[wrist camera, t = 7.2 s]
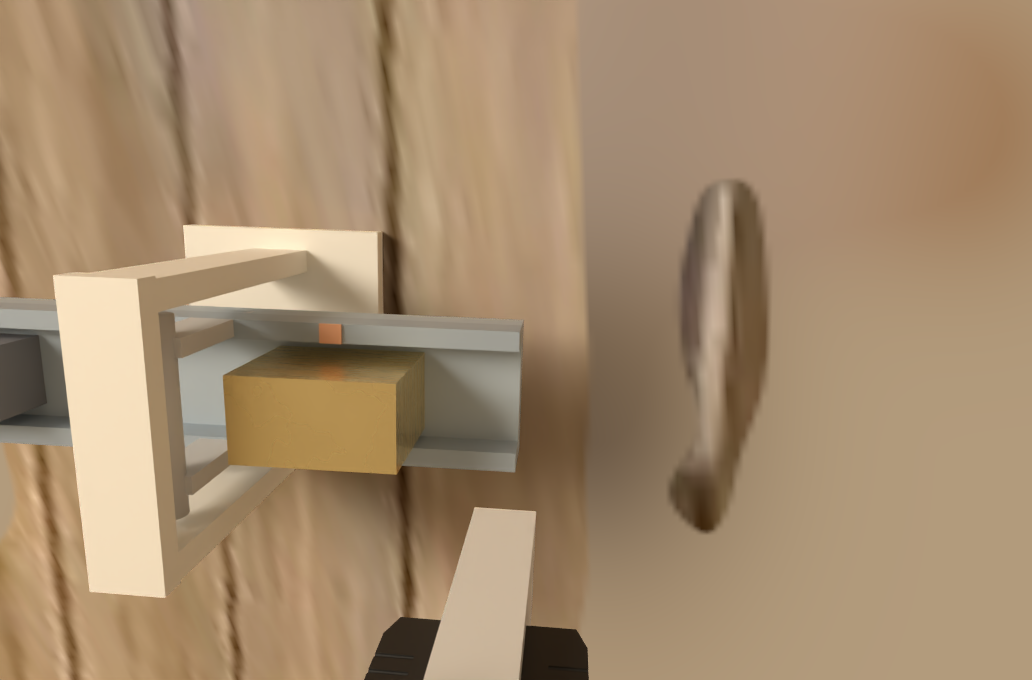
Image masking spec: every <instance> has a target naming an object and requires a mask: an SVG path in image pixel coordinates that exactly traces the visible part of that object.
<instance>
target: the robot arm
mask: <svg viewBox="0 0 1032 680" xmlns="http://www.w3.org/2000/svg"><path fill="white" fill-rule="evenodd" d="M535 529H536V511H523V510H509V509H494V508H480V507H475V508H474V511H473V515H472V518H471V521H470V525H469V528H468V531H467V535H466V538H465V542H464V545H463V548H462V552H461V555H460V558H459V562H458V565H457V568H456V572H455V575H454V578H453V582H452V585H451V588H450V592H449V595H448V599H447V602H446V605H445V609H444V612H443V615H442V619H441V620H430V619H418V618H406V617H400V618H399V619H398V620H397V621H396V622H395V623H394V624H393V625H392V626H391V627H390V628H389V629H388V630H386V631H385V632H384V633H383V636H382V638H381V641H380V643H379V645H378V648H377V650H376V653H375V657H373V660H372V662H371V665H370V667H369V671H368V673H367V674H366V677H365V679H364V680H589V677H588V653H587V651H588V650H587V647H586V645H585V643H584V642H583V640H582V638H581V637H580V635H579V633H578V632H577V630H575V629H562V628H550V627H538V626H530V625H531V614H532V595H533V573H534V551H535Z"/></svg>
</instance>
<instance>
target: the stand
mask: <svg viewBox="0 0 1032 680" xmlns="http://www.w3.org/2000/svg"><path fill="white" fill-rule="evenodd" d="M183 228H184V242H185V256H186V258H184V259H178V260H171V261H164V262H158V263H151V264H144V265H138V266H131V267H125V268H118V269H111V270H105V271H98V272H92V273H82V272H73V273H66V274H59V275H53V280H54V288H55V297H56V305H57V314H58V323H59V331H60V340H61V348H62V357H63V366H64V374H65V383H66V391H67V400H68V409H69V417H70V426H71V434H72V443H73V452H74V460H75V469H76V477H77V486H78V495H79V503H80V512H81V520H82V529H83V537H84V546H85V555H86V563H87V572H88V580H89V589H90V592H100V593H112V594H124V595H137V596H149V597H161V598H166V597H167V596H168V595H169V594H170V593H171V592H172V591H173V590H174V589H175V588H176V587H177V586H178V585H179V584H180V583H181V580H182V579H183V578H184V577H185V576H186V575H187V574H188V573H189V572H190V571H191V570H192V569H193V568H194V567H195V566H196V565H197V564H198V563H199V562H200V561H201V560H202V559H203V558H204V557H205V556H207V555H208V554H209V553H210V552H211V551H212V550H213V549H214V548H215V547H216V546H217V545H218V544H219V543H220V542H221V541H222V540H223V539H224V538H225V537H226V536H227V535H228V534H229V533H230V532H231V531H232V530H233V529H234V528H235V527H236V526H237V525H238V524H239V523H240V522H242V521H243V520H244V519H245V518H246V517H247V516H248V515H249V514H250V513H251V512H252V511H253V510H254V509H255V508H256V507H257V506H258V505H259V504H260V503H261V502H262V501H263V500H264V499H265V498H266V497H267V496H268V495H269V494H270V493H271V492H272V491H273V490H274V489H275V488H277V487H278V486H279V485H280V484H281V483H282V482H283V481H284V480H285V479H286V478H287V477H288V476H289V475H290V474H291V473H292V472H293V471H294V470H295V469H292V468H275V467H258V466H241V465H230V466H229V467H227V468H226V469H225V470H224V471H222V472H221V473H220V474H219V475H217V476H216V477H215V478H214V479H212V480H211V481H210V482H209V483H207V484H206V485H205V486H204V487H202V488H201V489H200V490H199V491H197V492H196V493H195V494H194V495H189V507H190V512H189V514H188V515H186V516H185V517H183V518H181V519H178V520H176V517H175V505H174V493H173V481H172V469H171V457H170V445H169V433H168V421H167V409H166V397H165V386H164V374H163V362H162V350H161V338H160V326H159V314H158V312H161V311H164V310H168V309H172V308H175V307H179V306H183V305H186V304H189V305H192V306H215V307H238V308H261V309H283V310H306V311H329V312H352V313H375V314H383V235H382V232H380V231H353V230H326V229H298V228H271V227H244V226H216V225H183Z"/></svg>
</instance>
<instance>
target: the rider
mask: <svg viewBox="0 0 1032 680" xmlns="http://www.w3.org/2000/svg"><path fill="white" fill-rule="evenodd" d="M223 389H224V405H225V420H226V435H227V451H228V465H241V466H258V467H275V468H292V469H309V470H326V471H344V472H361V473H378V474H395V475H397V473H398V471H399V470H400V468H401V466H402V465H403V463H404V461H405V460H406V458H407V457H408V455H409V453H410V452H411V450H412V448H413V447H414V445H415V443H416V442H417V440H418V438H419V437H420V435H421V433H422V432H423V430H424V429H425V352H409V351H387V350H366V349H344V348H322V347H301V346H279V347H277V348H275V349H273V350H271V351H269V352H267V353H265V354H263V355H261V356H259V357H257V358H255V359H253V360H251V361H249V362H248V363H246V364H244V365H242V366H240V367H238V368H236V369H234V370H232V371H230V372H228V373H226V374H224V375H223Z"/></svg>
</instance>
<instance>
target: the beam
mask: <svg viewBox="0 0 1032 680" xmlns="http://www.w3.org/2000/svg"><path fill="white" fill-rule="evenodd" d="M158 314H159V326H160V338H161V350H162V362H163V374H164V386H165V397H166V409H167V421H168V433H169V445H170V457H171V469H172V481H173V493H174V505H175V517H176V520H178V519H181V518H183V517H185V516H186V515H188V514H189V512H190V507H189V495H194V494H195V493H196V492H197V491H199V490H200V489H201V488H202V487H204V486H205V485H206V484H207V483H209V482H210V481H211V480H212V479H214V478H215V477H216V476H217V475H219V474H220V473H221V472H222V471H224V470H225V469H226V468H227V467H229V466H230V465H228V451H227V435H226V420H225V405H224V389H223V375H224V374H226V373H228V372H230V371H232V370H234V369H236V368H238V367H240V366H242V365H244V364H246V363H248V362H249V361H251V360H253V359H255V358H257V357H259V356H261V355H263V354H265V353H267V352H269V351H271V350H273V349H275V348H277V347H279V346H301V347H322V348H344V349H366V350H387V351H409V352H425V429H424V430H423V432H422V433H421V435H420V437H419V438H418V440H417V442H416V443H415V445H414V447H413V448H412V450H411V452H410V453H409V455H408V457H407V458H406V460H405V461H404V463H403V465H402V466H415V467H432V468H450V469H467V470H484V471H501V472H515V470H516V464H517V458H518V453H519V443H520V414H521V385H522V356H523V327H524V320H512V319H489V318H466V317H444V316H421V315H398V314H375V313H352V312H329V311H306V310H283V309H261V308H238V307H215V306H192V305H183V306H179V307H175V308H172V309H168V310H164V311H161V312H158ZM0 442H3V443H20V444H37V445H54V446H71V447H73V443H72V434H71V426H70V417H69V409H68V400H67V391H66V383H65V374H64V366H63V357H62V348H61V340H60V331H59V323H58V314H57V305H56V300H55V299H32V298H9V297H0Z"/></svg>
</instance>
